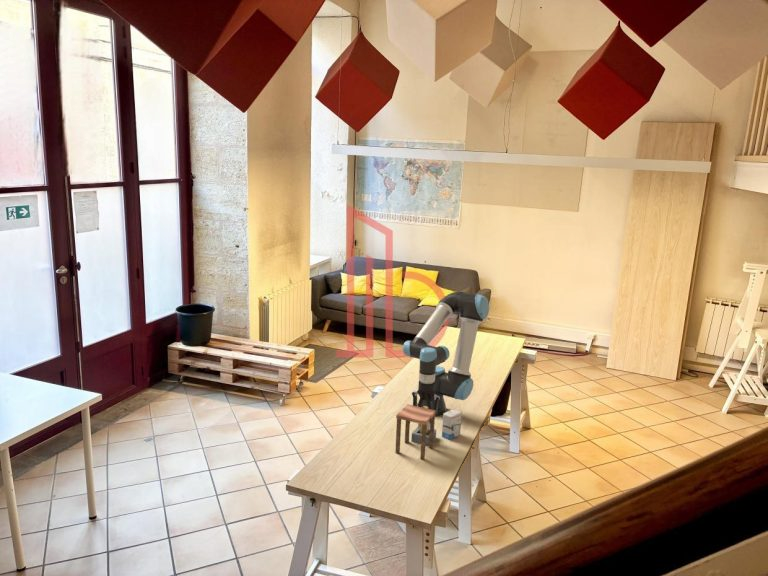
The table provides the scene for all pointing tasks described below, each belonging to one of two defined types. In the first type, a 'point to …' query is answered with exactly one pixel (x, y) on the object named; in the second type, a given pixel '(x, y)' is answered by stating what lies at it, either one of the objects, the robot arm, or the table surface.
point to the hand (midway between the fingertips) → (424, 427)
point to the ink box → (451, 424)
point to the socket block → (417, 436)
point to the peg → (421, 424)
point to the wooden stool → (416, 416)
